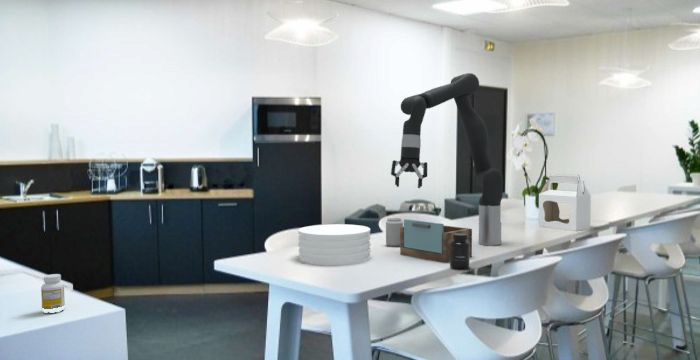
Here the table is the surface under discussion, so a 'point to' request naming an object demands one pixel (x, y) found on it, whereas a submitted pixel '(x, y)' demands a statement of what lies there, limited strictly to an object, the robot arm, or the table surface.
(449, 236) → the crate
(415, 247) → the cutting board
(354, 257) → the plate stack
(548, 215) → the gable box
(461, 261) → the supplement bottle
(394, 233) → the can
